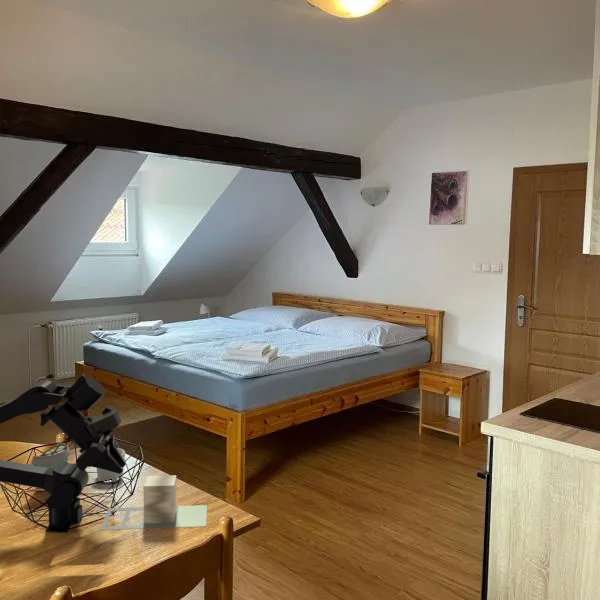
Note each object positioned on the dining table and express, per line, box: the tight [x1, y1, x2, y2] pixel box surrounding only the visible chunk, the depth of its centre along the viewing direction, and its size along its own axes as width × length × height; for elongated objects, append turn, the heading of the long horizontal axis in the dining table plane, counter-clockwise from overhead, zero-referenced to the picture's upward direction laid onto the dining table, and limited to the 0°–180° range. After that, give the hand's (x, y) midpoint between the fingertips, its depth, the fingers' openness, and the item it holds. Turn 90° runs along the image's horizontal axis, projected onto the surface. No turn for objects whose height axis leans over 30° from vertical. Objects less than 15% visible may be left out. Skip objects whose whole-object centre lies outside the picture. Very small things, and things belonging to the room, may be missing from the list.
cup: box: [96, 447, 126, 484], centre depth 171 cm, size 11×8×8 cm
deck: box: [99, 504, 208, 531], centre depth 146 cm, size 24×11×2 cm, turn 97°
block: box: [143, 474, 177, 523], centre depth 145 cm, size 7×6×9 cm
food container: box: [31, 441, 71, 490], centre depth 165 cm, size 12×6×10 cm, turn 168°
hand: (123, 468), depth 143 cm, fingers open, 4 cm apart
